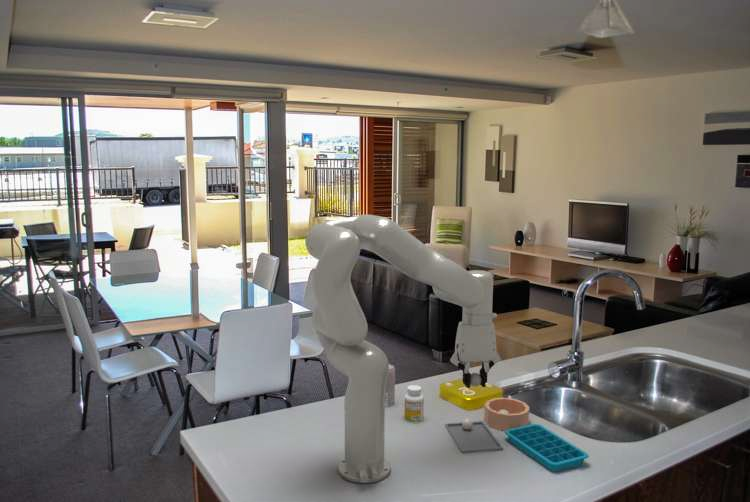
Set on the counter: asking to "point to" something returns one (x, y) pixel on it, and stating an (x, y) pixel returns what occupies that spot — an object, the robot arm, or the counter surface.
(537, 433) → the ice cube tray
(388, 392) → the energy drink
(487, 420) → the bowl
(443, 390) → the element tile
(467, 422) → the pebble
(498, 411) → the pebble
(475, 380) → the pebble
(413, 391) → the supplement bottle
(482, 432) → the parts tray
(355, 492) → the counter surface
